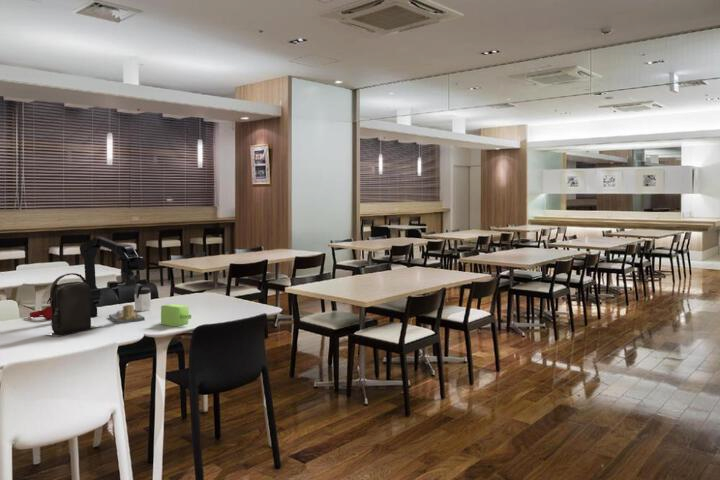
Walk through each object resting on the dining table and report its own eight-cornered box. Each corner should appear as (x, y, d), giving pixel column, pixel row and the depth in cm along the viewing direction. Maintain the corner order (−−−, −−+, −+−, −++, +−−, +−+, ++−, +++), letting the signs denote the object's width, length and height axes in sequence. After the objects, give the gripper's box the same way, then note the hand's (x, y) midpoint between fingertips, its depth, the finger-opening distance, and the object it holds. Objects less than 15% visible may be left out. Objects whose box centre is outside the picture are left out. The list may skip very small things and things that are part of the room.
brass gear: (121, 320, 291) (121, 308, 290) (116, 317, 298) (116, 305, 298) (140, 317, 297) (139, 306, 296) (135, 314, 304) (134, 303, 303)
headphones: (74, 315, 310) (50, 317, 318) (72, 302, 309) (48, 304, 318) (48, 321, 296) (24, 322, 305) (46, 307, 296) (22, 309, 305)
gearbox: (197, 325, 288) (197, 306, 288) (182, 328, 280) (182, 308, 279) (172, 320, 297) (172, 302, 297) (156, 323, 289) (157, 304, 288)
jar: (138, 312, 318) (137, 290, 317) (132, 309, 324) (131, 288, 323) (154, 309, 324) (153, 288, 323) (147, 307, 330) (147, 286, 329)
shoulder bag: (89, 325, 287) (87, 269, 285) (100, 327, 282) (98, 270, 280) (44, 335, 268) (41, 275, 266) (55, 337, 263) (52, 277, 261)
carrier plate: (118, 323, 290) (117, 313, 289) (109, 317, 304) (108, 307, 304) (144, 320, 297) (144, 309, 297) (134, 314, 312) (134, 304, 311)
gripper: (111, 273, 283) (113, 304, 285) (150, 269, 294) (151, 299, 296) (106, 270, 292) (107, 301, 293) (143, 267, 303) (144, 296, 305)
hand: (128, 299), depth 297 cm, fingers open, 9 cm apart
